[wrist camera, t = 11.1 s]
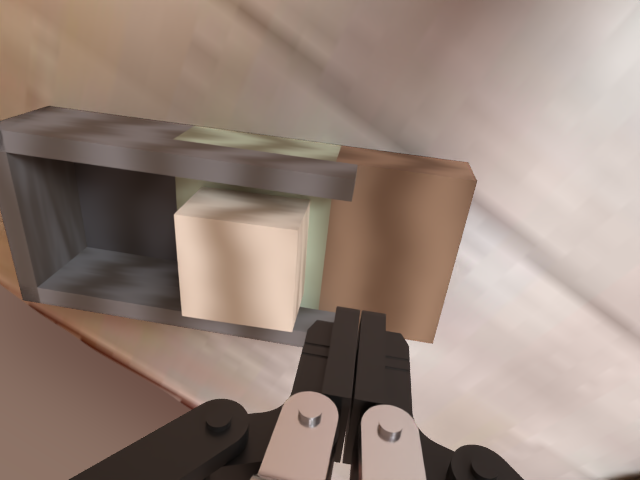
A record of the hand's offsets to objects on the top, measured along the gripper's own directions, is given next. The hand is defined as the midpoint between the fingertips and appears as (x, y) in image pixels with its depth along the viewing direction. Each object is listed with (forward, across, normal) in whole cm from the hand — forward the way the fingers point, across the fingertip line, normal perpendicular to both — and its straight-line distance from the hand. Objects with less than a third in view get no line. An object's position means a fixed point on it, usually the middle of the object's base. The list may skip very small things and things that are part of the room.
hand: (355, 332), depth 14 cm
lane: (+23, +10, +8) cm, 26 cm away
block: (+19, +8, +8) cm, 22 cm away
